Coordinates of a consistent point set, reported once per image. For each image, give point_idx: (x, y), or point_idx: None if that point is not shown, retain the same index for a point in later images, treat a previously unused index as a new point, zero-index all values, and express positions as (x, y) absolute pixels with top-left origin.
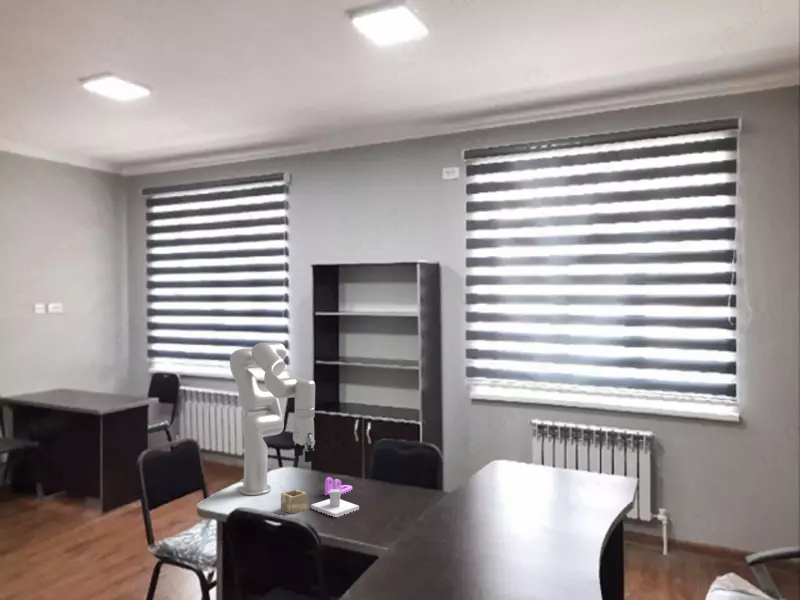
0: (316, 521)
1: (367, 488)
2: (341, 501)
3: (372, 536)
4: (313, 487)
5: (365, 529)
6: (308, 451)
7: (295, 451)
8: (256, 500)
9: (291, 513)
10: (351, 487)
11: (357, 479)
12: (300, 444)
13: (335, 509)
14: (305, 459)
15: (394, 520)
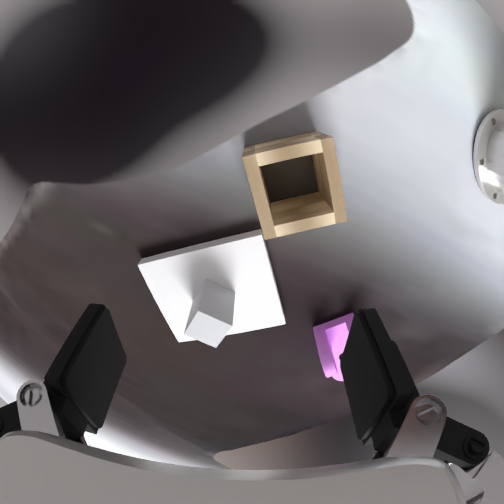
0: (135, 197)
1: (319, 397)
2: (237, 324)
3: (24, 275)
4: (424, 307)
5: (55, 283)
6: (41, 391)
7: (373, 344)
8: (442, 108)
9: (248, 146)
10: (336, 378)
11: None
12: (45, 440)
13: (174, 281)
14: (82, 318)
15: None
